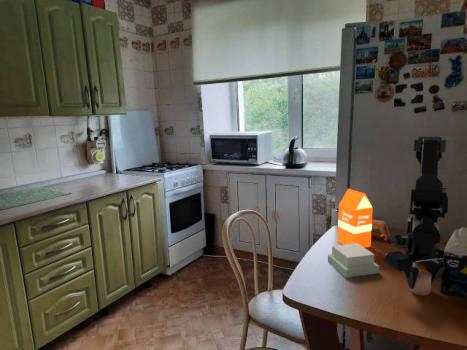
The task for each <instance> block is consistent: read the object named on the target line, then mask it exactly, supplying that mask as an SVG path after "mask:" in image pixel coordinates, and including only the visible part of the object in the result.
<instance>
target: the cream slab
mask: <svg viewBox="0 0 467 350" xmlns="http://www.w3.org/2000/svg"><path fill="white" fill-rule="evenodd" d="M331 248H332V249H331V254H332V255H333V256H334V257H335V258H337V259H338V260H339V261H340V262H341V263H343V264H344V265H345V266H346V267H352V266H359V265H367V264H374V263H375V254H374V253H373V252H371V251H370V250H369V249H368V248H367V249H366V248H364V247H362V246H361V245H359V244H358V243H355V244H346V245H343V244H340V245H332V247H331Z"/></svg>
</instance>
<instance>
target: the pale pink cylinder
mask: <svg viewBox="0 0 467 350" xmlns="http://www.w3.org/2000/svg"><path fill="white" fill-rule="evenodd" d="M418 269H419V268H418ZM431 277H432V275H431V274H430V273H429V272H427V270H425V269H419V273H418V276H417V279H416V283H415V286H414V288H413V289H411V288H408V289H409V291H410V292H411V293H413V294H415V295H419V296H429V295H430V293H431V287H432V285H431Z"/></svg>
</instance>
